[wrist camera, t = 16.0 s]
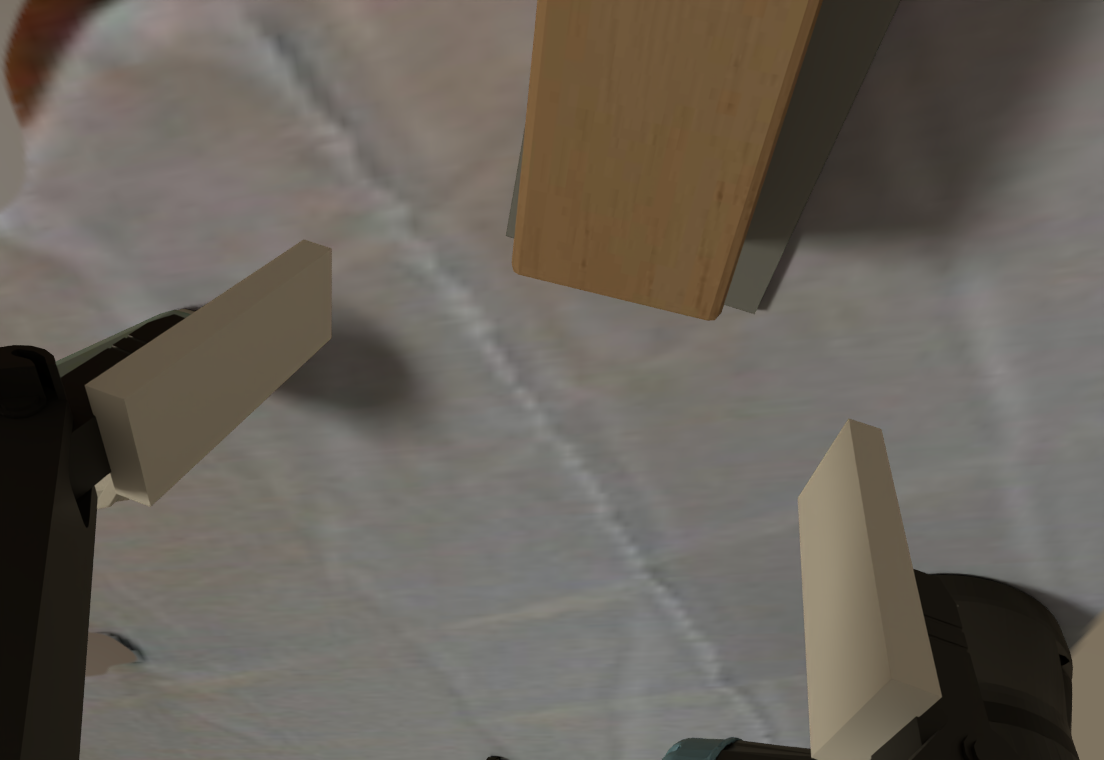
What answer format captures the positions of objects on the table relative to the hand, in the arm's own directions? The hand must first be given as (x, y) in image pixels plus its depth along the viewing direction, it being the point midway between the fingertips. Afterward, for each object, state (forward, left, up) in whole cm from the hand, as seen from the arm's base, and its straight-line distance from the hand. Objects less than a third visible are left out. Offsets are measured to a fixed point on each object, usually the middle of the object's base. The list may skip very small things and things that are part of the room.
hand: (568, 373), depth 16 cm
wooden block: (0, +6, -19) cm, 19 cm away
